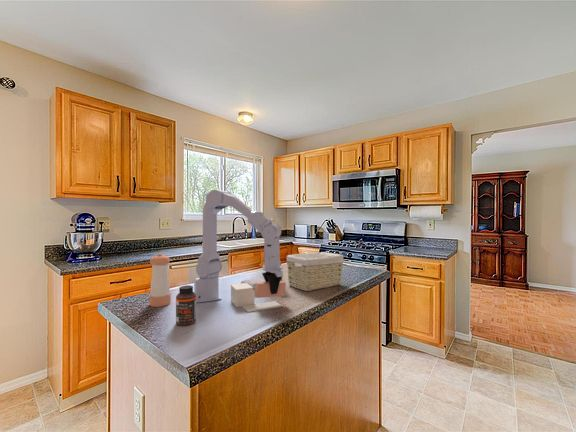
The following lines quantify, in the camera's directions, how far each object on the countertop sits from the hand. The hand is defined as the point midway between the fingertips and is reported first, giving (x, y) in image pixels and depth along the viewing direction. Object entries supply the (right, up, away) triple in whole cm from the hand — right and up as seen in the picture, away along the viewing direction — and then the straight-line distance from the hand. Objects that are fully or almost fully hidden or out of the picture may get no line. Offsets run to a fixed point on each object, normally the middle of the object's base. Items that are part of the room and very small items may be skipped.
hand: (272, 292), depth 102 cm
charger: (-11, -5, +22) cm, 25 cm away
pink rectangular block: (-1, -1, 0) cm, 1 cm away
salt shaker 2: (+1, -5, +23) cm, 23 cm away
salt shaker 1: (-43, -5, +3) cm, 43 cm away
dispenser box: (-12, -5, +3) cm, 13 cm away
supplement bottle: (-26, -5, -16) cm, 31 cm away
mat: (-4, -5, -2) cm, 6 cm away
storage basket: (+19, -5, +28) cm, 35 cm away
